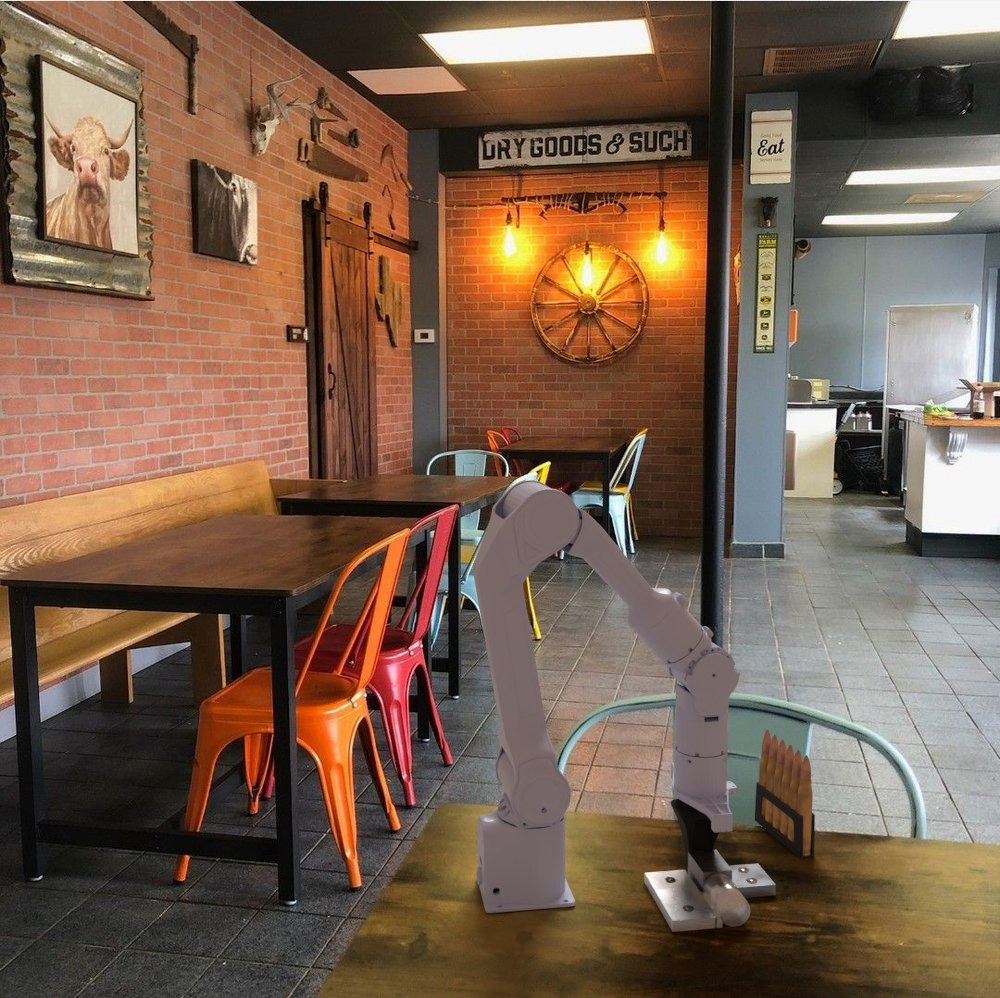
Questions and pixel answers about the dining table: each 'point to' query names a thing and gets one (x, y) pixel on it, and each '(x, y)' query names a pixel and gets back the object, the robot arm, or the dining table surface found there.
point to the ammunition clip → (785, 796)
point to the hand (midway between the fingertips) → (698, 865)
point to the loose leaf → (730, 873)
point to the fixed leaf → (697, 900)
